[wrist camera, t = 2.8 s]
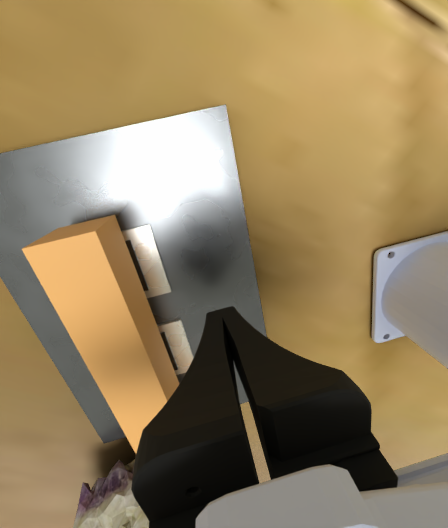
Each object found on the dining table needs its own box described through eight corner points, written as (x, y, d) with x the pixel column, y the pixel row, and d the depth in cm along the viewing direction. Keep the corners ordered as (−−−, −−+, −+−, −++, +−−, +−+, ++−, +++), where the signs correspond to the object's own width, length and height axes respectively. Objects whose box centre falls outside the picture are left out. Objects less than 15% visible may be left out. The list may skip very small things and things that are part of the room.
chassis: (221, 110, 13) (228, 101, 11) (270, 377, 21) (280, 401, 19) (-41, 167, 13) (-83, 168, 10) (109, 423, 20) (101, 453, 18)
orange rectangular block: (206, 434, 19) (211, 492, 15) (156, 449, 18) (151, 511, 15) (125, 212, 12) (105, 231, 9) (47, 230, 12) (-3, 257, 9)
